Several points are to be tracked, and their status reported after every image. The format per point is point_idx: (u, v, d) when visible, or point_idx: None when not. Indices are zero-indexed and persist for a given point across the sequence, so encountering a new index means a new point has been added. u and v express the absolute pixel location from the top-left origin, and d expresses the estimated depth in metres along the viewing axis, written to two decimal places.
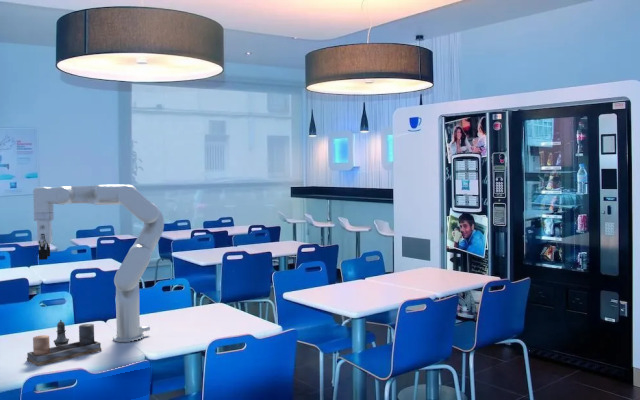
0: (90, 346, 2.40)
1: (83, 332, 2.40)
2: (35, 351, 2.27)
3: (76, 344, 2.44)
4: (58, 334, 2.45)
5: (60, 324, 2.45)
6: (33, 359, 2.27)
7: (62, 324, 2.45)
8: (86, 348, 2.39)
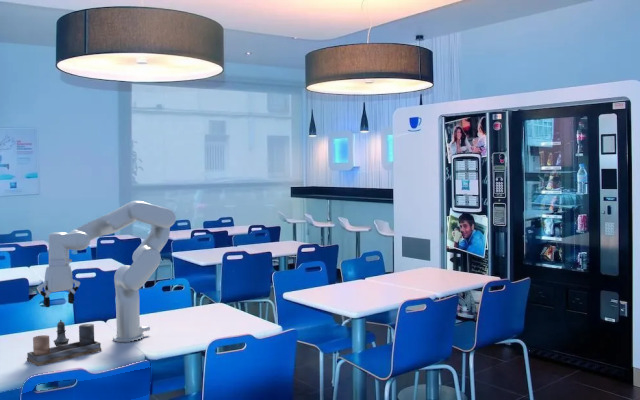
0: (90, 346, 2.40)
1: (83, 332, 2.40)
2: (35, 351, 2.27)
3: (76, 344, 2.44)
4: (58, 334, 2.45)
5: (60, 324, 2.45)
6: (33, 359, 2.27)
7: (62, 324, 2.45)
8: (86, 348, 2.39)
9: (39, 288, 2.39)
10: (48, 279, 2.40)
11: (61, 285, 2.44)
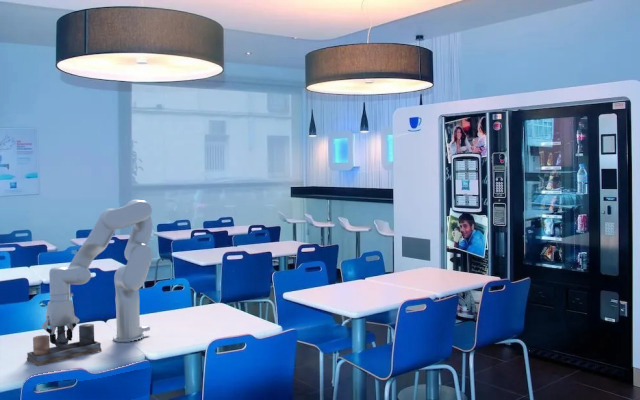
0: (90, 346, 2.40)
1: (83, 332, 2.40)
2: (35, 351, 2.27)
3: (76, 344, 2.44)
4: (58, 334, 2.45)
5: None
6: (33, 359, 2.27)
7: None
8: (86, 348, 2.39)
9: (44, 327, 2.40)
10: (50, 315, 2.41)
11: (63, 320, 2.44)
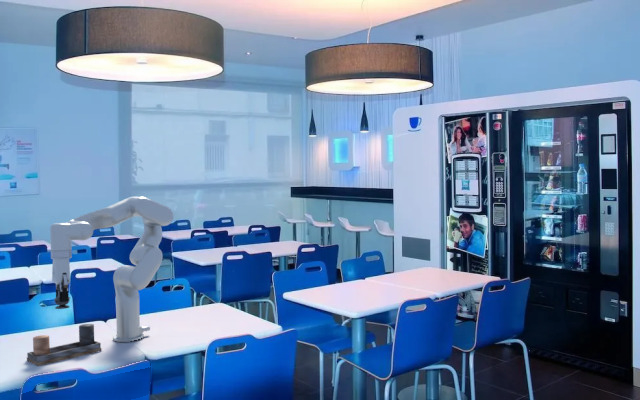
0: (90, 346, 2.40)
1: (83, 332, 2.40)
2: (35, 351, 2.27)
3: (76, 344, 2.44)
4: None
5: None
6: (33, 359, 2.27)
7: None
8: (86, 348, 2.39)
9: None
10: (68, 271, 2.35)
11: None
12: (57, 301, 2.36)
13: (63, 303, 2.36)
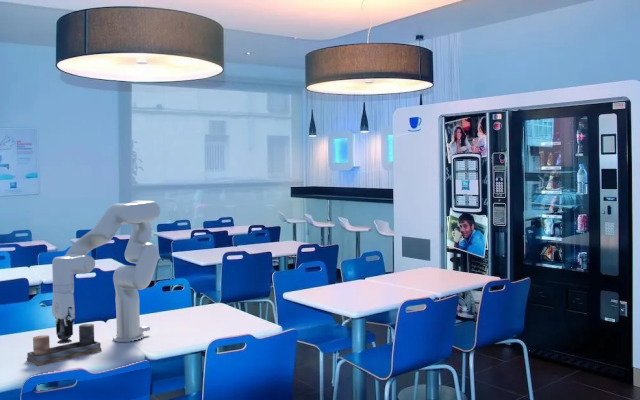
0: (90, 346, 2.40)
1: (83, 332, 2.40)
2: (35, 351, 2.27)
3: (76, 344, 2.44)
4: None
5: None
6: (33, 359, 2.27)
7: None
8: (86, 348, 2.39)
9: None
10: (73, 304, 2.34)
11: None
12: (61, 336, 2.34)
13: (67, 337, 2.35)
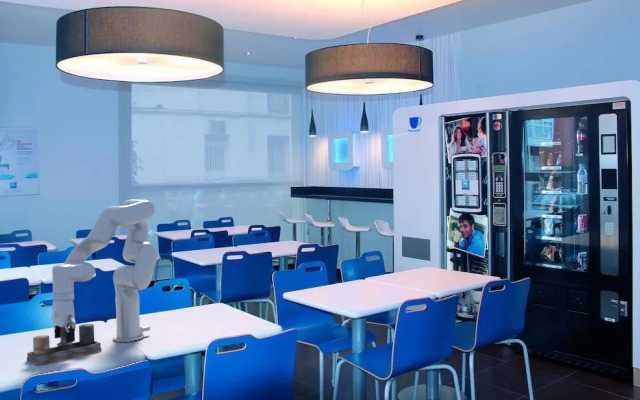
0: (90, 346, 2.40)
1: (83, 332, 2.40)
2: (35, 351, 2.27)
3: (76, 344, 2.44)
4: None
5: None
6: (33, 359, 2.27)
7: None
8: (86, 348, 2.39)
9: None
10: (73, 312, 2.34)
11: None
12: (61, 347, 2.34)
13: (67, 348, 2.35)
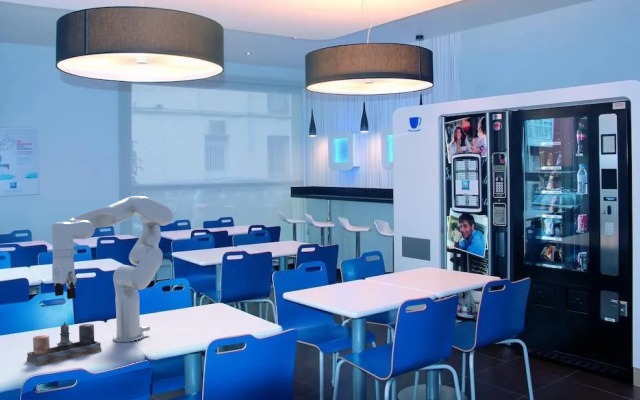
0: (90, 346, 2.40)
1: (83, 332, 2.40)
2: (35, 351, 2.27)
3: (76, 344, 2.44)
4: (67, 336, 2.36)
5: (68, 326, 2.37)
6: (33, 359, 2.27)
7: None
8: (86, 348, 2.39)
9: None
10: (73, 269, 2.35)
11: None
12: (61, 347, 2.34)
13: (67, 348, 2.35)
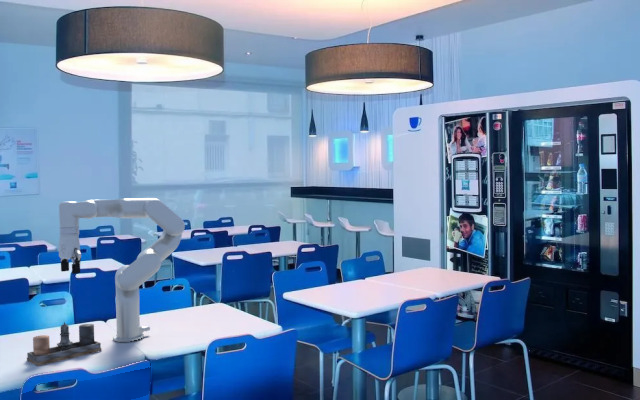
0: (90, 346, 2.40)
1: (83, 332, 2.40)
2: (35, 351, 2.27)
3: (76, 344, 2.44)
4: (67, 336, 2.36)
5: (68, 326, 2.37)
6: (33, 359, 2.27)
7: None
8: (86, 348, 2.39)
9: None
10: (78, 246, 2.49)
11: None
12: (61, 347, 2.34)
13: (67, 348, 2.35)
